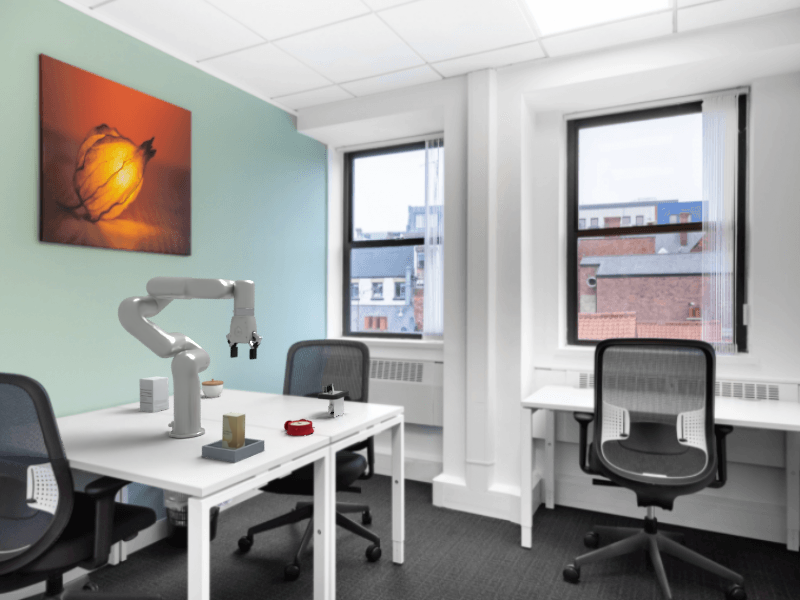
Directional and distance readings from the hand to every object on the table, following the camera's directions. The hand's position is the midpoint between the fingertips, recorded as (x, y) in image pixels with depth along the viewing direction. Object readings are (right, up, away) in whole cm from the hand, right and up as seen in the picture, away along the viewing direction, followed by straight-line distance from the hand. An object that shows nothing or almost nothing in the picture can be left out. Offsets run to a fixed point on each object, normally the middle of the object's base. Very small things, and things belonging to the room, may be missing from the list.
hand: (243, 358), depth 198 cm
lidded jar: (-39, -29, +77) cm, 91 cm away
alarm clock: (+20, -29, +5) cm, 36 cm away
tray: (+4, -29, -24) cm, 38 cm away
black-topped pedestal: (+29, -29, +34) cm, 53 cm away
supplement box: (-54, -29, +45) cm, 76 cm away
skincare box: (+4, -28, -24) cm, 37 cm away
